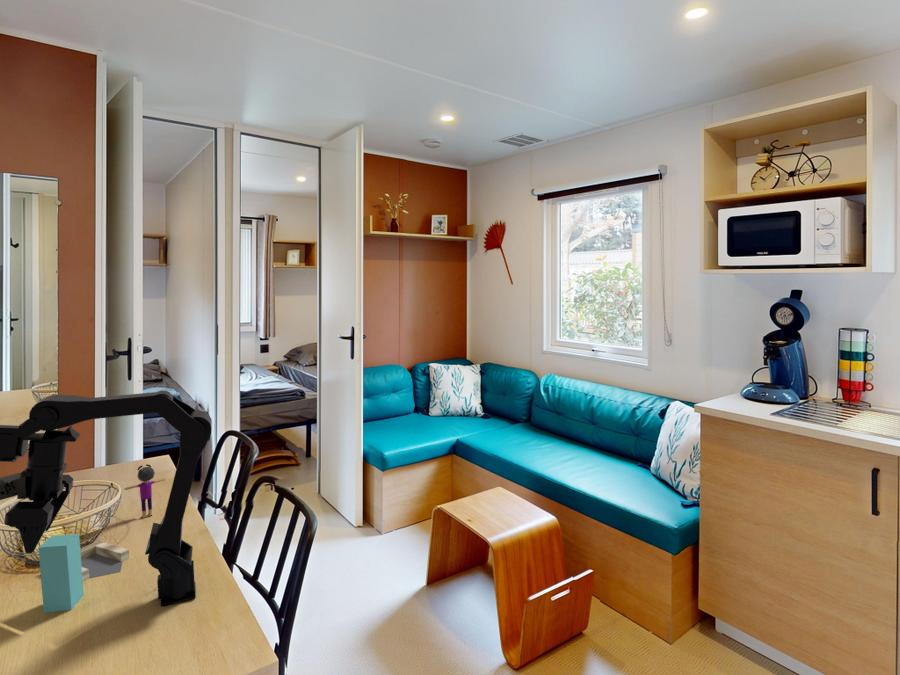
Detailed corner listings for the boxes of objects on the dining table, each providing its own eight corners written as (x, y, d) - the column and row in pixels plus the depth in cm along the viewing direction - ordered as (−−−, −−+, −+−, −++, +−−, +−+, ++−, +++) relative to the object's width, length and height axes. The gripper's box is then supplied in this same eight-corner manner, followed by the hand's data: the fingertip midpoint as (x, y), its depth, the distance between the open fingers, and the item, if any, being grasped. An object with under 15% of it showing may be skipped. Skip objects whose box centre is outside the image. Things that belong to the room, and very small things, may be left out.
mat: (125, 549, 133) (125, 548, 133) (120, 573, 123) (120, 571, 122) (66, 560, 128) (66, 559, 128) (56, 586, 117) (55, 584, 117)
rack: (129, 557, 129) (128, 549, 129) (80, 582, 118) (79, 573, 118) (98, 548, 133) (98, 540, 133) (48, 571, 123) (47, 563, 122)
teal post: (83, 597, 113) (79, 533, 112) (71, 611, 109) (66, 545, 107) (57, 599, 113) (52, 535, 111) (44, 614, 108) (38, 547, 106)
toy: (164, 508, 157) (162, 458, 155) (171, 514, 153) (169, 463, 151) (124, 520, 149) (121, 467, 148) (130, 526, 145) (127, 473, 144)
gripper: (11, 445, 108) (3, 521, 109) (-29, 478, 91) (-38, 568, 92) (77, 447, 112) (69, 520, 113) (51, 479, 95) (41, 564, 96)
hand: (37, 541), depth 103 cm, fingers open, 9 cm apart
